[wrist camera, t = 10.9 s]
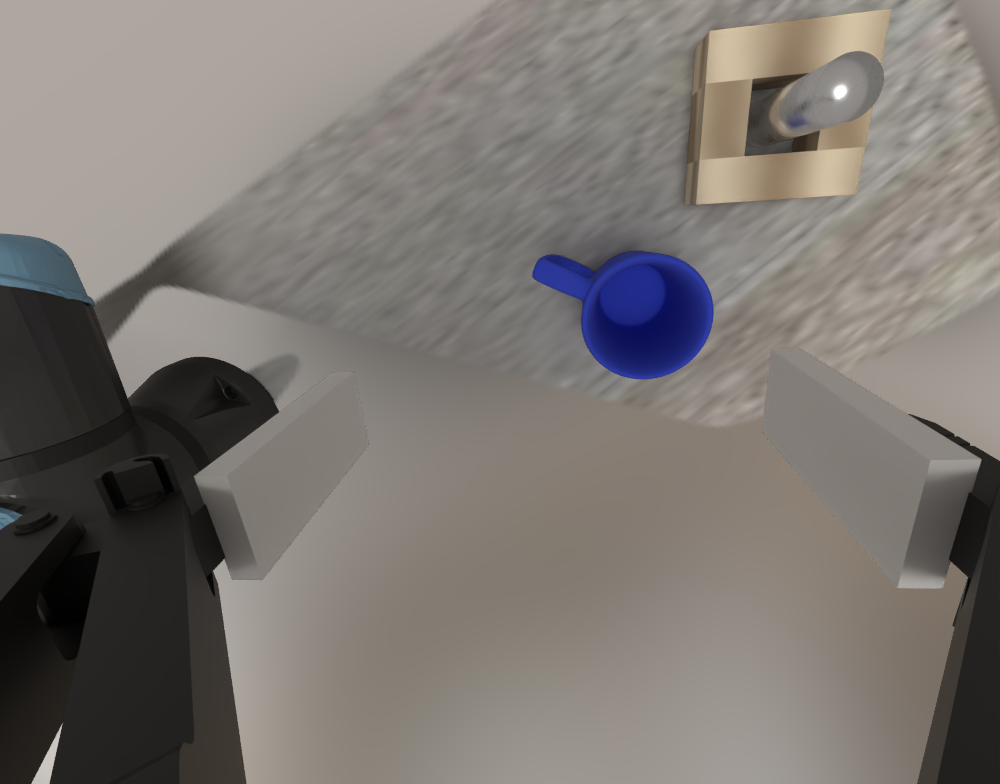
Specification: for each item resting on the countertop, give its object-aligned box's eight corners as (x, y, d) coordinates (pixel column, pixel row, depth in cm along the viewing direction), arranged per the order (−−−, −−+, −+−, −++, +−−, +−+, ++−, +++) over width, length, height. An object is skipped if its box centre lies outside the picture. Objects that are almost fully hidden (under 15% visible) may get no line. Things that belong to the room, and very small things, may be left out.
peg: (737, 149, 35) (809, 125, 24) (742, 102, 34) (820, 54, 23) (782, 145, 34) (875, 120, 23) (788, 97, 33) (890, 47, 22)
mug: (564, 204, 38) (560, 205, 29) (702, 266, 38) (741, 287, 29) (524, 298, 41) (508, 326, 32) (650, 355, 42) (671, 399, 32)
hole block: (684, 204, 37) (696, 204, 33) (695, 49, 33) (709, 30, 30) (827, 194, 35) (856, 194, 32) (855, 31, 32) (891, 9, 28)
